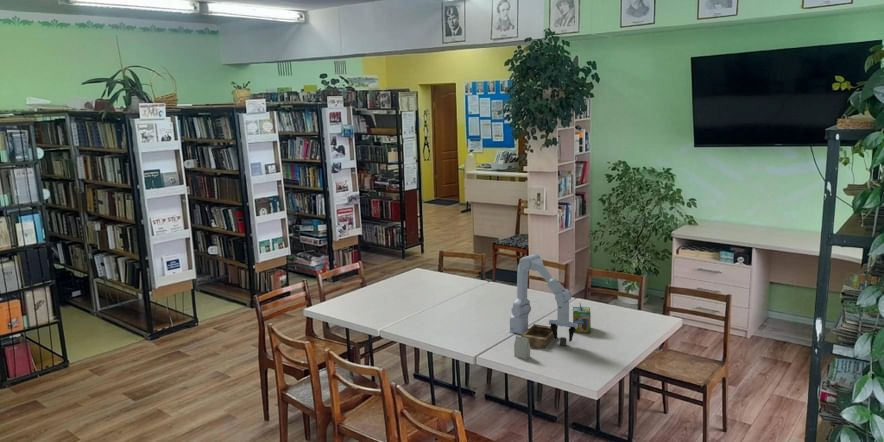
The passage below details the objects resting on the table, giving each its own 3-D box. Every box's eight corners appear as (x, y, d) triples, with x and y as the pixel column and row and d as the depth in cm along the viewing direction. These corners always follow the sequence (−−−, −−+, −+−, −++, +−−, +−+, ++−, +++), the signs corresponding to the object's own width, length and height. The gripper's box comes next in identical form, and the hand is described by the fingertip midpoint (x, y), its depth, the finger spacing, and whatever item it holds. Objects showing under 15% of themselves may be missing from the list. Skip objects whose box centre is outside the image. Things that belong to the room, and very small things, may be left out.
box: (521, 345, 309) (521, 335, 308) (534, 332, 324) (534, 324, 323) (543, 349, 303) (543, 339, 302) (555, 336, 318) (556, 327, 317)
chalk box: (590, 333, 321) (591, 306, 318) (572, 332, 323) (573, 306, 320) (590, 327, 330) (590, 300, 327) (572, 326, 332) (572, 300, 329)
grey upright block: (526, 359, 292) (526, 340, 290) (514, 356, 296) (514, 336, 294) (530, 357, 294) (530, 337, 292) (518, 353, 299) (518, 334, 297)
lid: (547, 349, 304) (547, 341, 303) (557, 339, 316) (557, 331, 316) (569, 353, 298) (569, 345, 297) (578, 342, 311) (578, 335, 310)
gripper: (546, 314, 304) (546, 340, 307) (574, 318, 297) (574, 344, 300) (551, 310, 310) (551, 335, 313) (579, 314, 303) (579, 339, 306)
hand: (563, 339), depth 307 cm, fingers open, 7 cm apart
